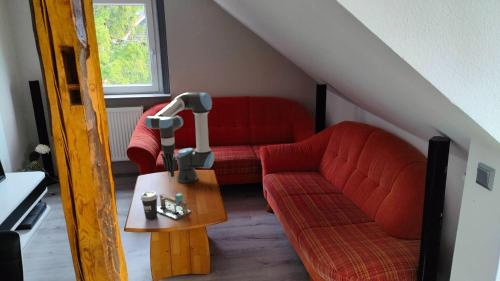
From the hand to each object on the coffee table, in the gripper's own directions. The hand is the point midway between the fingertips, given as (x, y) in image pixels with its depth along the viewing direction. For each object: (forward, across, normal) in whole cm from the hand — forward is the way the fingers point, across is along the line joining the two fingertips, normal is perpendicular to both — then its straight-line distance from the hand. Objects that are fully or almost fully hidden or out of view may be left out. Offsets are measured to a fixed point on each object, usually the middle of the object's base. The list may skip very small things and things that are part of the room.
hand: (171, 181), depth 220 cm
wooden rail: (+18, 0, -2) cm, 18 cm away
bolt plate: (+19, 0, -3) cm, 19 cm away
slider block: (+17, +6, -2) cm, 19 cm away
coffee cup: (+19, -3, -15) cm, 24 cm away
